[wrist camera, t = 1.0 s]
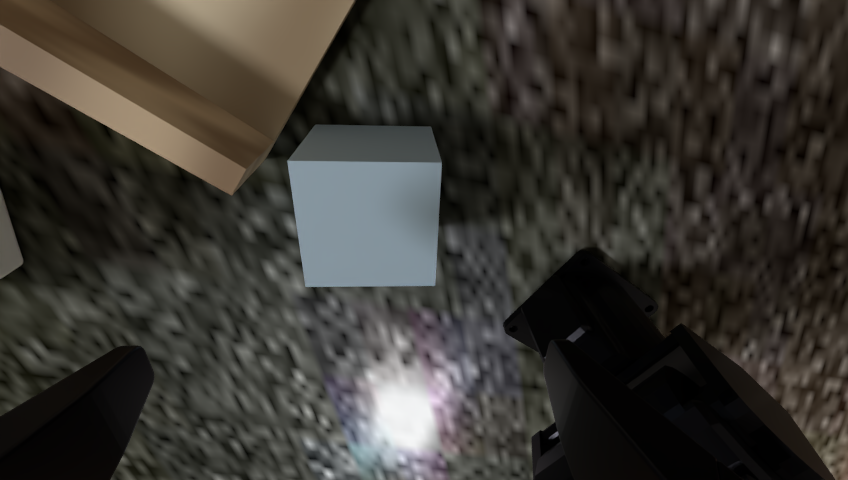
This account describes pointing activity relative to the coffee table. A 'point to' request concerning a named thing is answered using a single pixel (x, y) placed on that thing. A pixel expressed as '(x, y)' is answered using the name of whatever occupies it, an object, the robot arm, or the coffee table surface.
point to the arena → (177, 70)
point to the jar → (8, 242)
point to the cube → (367, 205)
